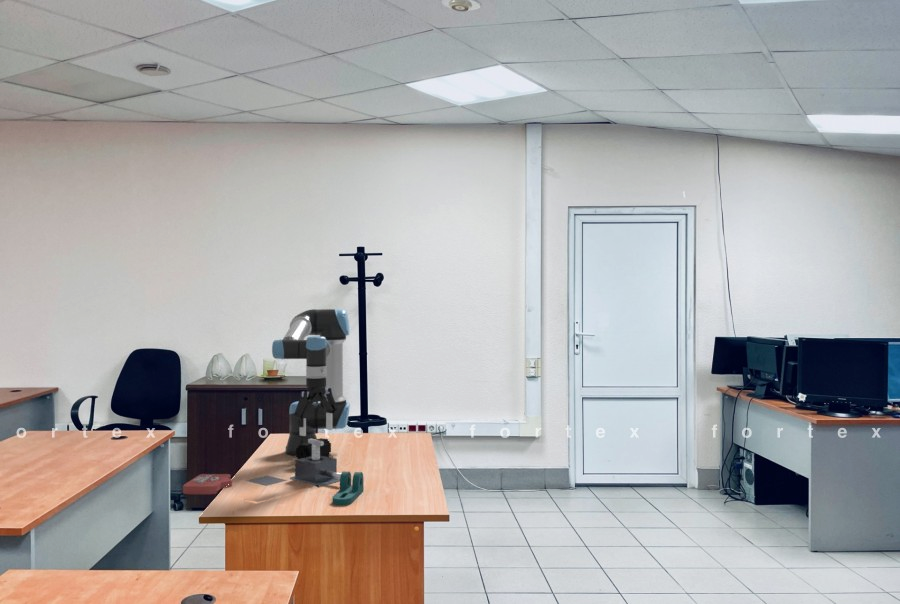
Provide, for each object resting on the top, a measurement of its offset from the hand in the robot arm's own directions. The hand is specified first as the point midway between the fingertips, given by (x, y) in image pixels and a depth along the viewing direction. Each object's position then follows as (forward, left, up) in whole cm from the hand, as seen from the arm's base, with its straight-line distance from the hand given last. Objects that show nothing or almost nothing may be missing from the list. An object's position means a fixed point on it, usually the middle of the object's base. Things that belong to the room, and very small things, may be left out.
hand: (316, 432), depth 268 cm
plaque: (-23, -30, -19) cm, 42 cm away
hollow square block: (+3, 0, -18) cm, 18 cm away
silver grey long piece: (0, 0, -17) cm, 17 cm away
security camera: (-18, +17, -18) cm, 31 cm away
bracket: (+27, -10, -19) cm, 34 cm away
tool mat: (-13, -13, -18) cm, 26 cm away
